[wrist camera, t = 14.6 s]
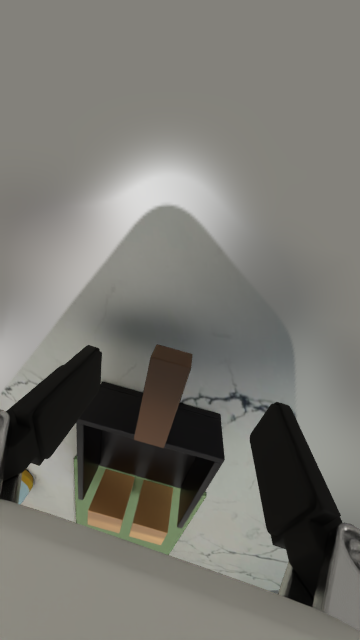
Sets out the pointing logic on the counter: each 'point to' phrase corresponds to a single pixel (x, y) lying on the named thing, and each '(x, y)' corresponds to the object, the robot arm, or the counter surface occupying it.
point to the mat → (132, 511)
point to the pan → (152, 433)
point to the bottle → (25, 485)
